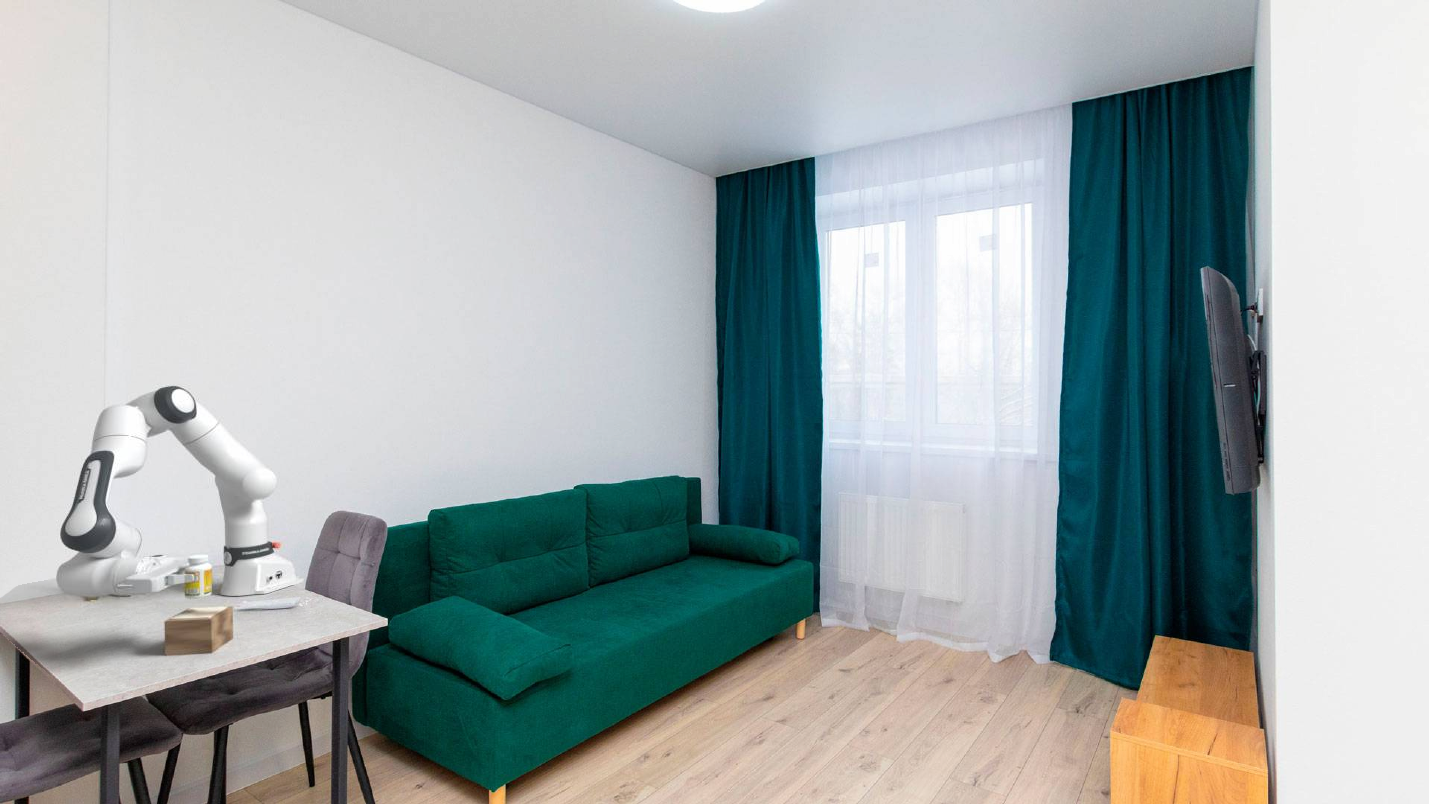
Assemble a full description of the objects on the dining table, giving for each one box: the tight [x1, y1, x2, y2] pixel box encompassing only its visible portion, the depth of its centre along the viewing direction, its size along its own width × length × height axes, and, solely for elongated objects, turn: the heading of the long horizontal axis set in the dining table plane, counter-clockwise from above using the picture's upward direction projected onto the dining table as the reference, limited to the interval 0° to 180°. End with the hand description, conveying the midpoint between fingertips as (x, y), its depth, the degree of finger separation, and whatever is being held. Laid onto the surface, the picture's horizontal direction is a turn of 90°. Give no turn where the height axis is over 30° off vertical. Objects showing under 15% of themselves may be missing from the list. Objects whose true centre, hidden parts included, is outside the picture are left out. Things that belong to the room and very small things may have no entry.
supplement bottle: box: [184, 554, 213, 600], centre depth 176 cm, size 5×5×10 cm
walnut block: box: [163, 605, 234, 656], centre depth 177 cm, size 10×10×8 cm
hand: (202, 573), depth 176 cm, fingers closed on supplement bottle, 5 cm apart
